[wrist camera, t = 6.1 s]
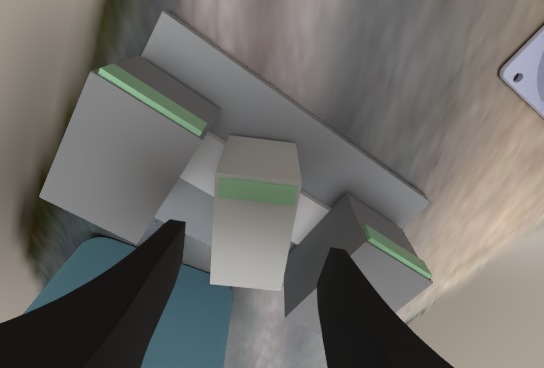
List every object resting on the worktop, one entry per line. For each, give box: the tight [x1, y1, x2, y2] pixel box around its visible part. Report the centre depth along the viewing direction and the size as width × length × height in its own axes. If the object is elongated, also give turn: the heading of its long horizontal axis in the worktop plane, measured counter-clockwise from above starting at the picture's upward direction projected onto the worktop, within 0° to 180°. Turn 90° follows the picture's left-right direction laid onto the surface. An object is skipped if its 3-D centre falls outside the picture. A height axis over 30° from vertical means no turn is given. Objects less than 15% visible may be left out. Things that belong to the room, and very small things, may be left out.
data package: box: [23, 237, 233, 368], centre depth 21 cm, size 12×4×12 cm, turn 64°
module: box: [210, 135, 302, 291], centre depth 19 cm, size 4×7×5 cm, turn 173°
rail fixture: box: [39, 11, 433, 335], centre depth 20 cm, size 20×12×7 cm, turn 55°
